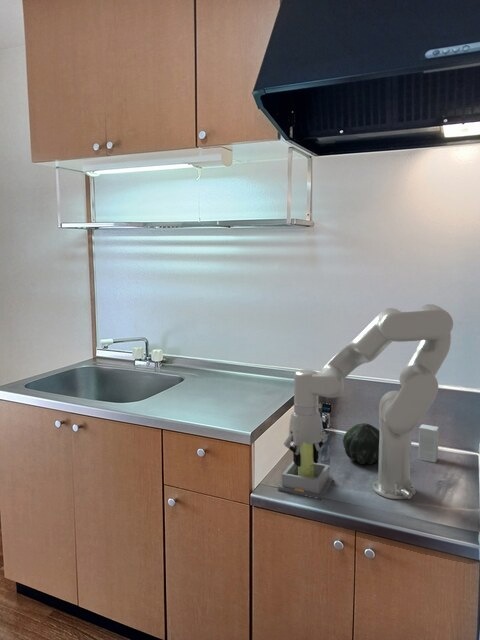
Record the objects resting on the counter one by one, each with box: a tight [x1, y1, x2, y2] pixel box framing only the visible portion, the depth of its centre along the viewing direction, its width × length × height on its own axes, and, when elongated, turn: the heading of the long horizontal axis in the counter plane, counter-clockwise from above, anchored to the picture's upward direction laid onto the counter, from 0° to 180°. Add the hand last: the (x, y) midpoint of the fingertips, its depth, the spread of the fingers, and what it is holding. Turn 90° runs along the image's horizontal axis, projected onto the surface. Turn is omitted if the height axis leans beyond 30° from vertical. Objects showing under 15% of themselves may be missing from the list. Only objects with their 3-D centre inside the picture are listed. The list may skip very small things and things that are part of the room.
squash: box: [342, 422, 380, 465], centre depth 177 cm, size 14×15×15 cm
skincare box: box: [417, 424, 440, 463], centre depth 177 cm, size 6×4×12 cm
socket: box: [277, 460, 334, 499], centre depth 160 cm, size 14×14×5 cm
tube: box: [298, 442, 314, 479], centre depth 159 cm, size 6×5×20 cm
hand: (305, 462), depth 160 cm, fingers closed on tube, 5 cm apart
